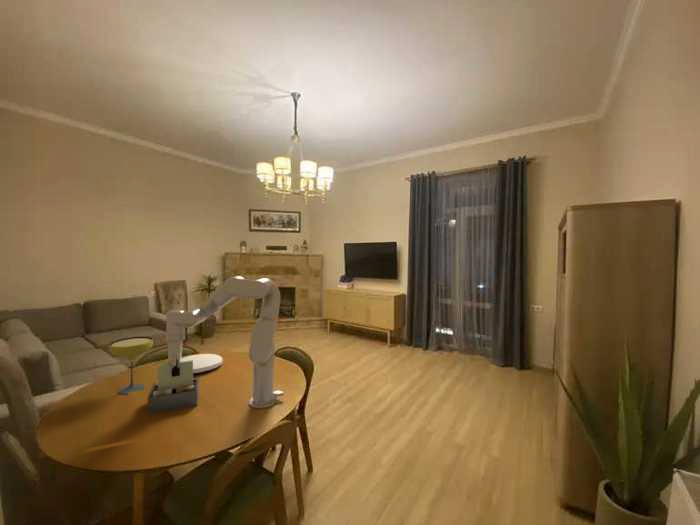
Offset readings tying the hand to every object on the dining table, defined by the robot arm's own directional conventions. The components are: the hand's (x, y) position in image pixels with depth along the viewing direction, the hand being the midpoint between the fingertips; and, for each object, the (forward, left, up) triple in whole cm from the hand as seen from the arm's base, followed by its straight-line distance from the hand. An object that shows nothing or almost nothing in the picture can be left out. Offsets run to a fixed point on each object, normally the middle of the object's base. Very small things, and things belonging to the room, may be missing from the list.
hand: (176, 375), depth 135 cm
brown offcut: (+5, +4, -13) cm, 14 cm away
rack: (0, 0, -14) cm, 14 cm away
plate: (-8, -44, -14) cm, 47 cm away
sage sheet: (0, 0, -12) cm, 12 cm away
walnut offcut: (-4, +4, -13) cm, 14 cm away
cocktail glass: (+22, -25, -14) cm, 36 cm away
